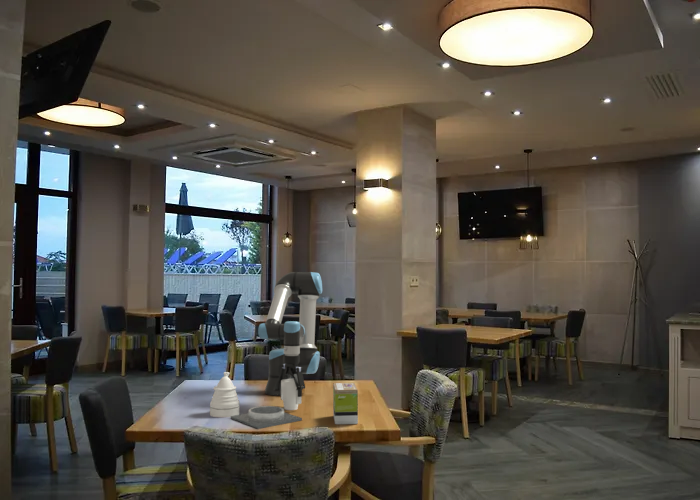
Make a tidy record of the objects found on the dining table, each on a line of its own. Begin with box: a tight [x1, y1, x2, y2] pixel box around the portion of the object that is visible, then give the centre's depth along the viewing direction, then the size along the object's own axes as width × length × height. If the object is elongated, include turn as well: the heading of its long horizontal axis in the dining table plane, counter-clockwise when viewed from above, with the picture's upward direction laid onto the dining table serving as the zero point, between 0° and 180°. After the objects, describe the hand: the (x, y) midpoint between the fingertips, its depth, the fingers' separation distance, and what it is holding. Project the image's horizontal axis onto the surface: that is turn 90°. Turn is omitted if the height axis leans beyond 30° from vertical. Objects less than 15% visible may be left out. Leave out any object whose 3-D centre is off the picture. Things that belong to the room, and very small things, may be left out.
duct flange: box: [230, 405, 303, 430], centre depth 245 cm, size 22×22×4 cm
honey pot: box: [209, 371, 240, 418], centre depth 255 cm, size 13×13×18 cm
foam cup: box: [281, 378, 299, 411], centre depth 266 cm, size 10×9×13 cm
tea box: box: [332, 382, 359, 425], centre depth 246 cm, size 15×10×15 cm, turn 5°
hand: (290, 401), depth 266 cm, fingers open, 11 cm apart
